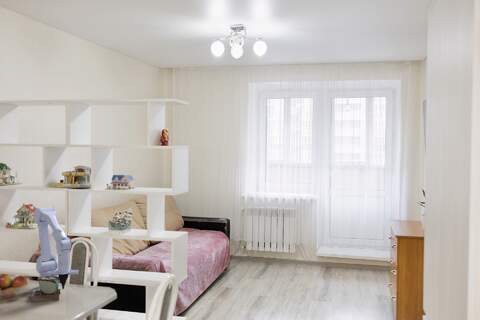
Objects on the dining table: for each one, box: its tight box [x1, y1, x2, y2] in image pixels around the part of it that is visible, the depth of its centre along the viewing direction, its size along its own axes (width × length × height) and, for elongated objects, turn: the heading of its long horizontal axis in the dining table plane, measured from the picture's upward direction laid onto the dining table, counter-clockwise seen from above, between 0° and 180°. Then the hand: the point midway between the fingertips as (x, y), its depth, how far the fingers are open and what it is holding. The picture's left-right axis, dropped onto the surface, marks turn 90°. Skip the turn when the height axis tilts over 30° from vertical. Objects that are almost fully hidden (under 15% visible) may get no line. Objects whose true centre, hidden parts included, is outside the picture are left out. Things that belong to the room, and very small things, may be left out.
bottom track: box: [30, 288, 61, 303], centre depth 241 cm, size 11×13×3 cm
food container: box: [37, 275, 61, 296], centre depth 243 cm, size 12×6×10 cm, turn 69°
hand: (63, 288), depth 244 cm, fingers closed
